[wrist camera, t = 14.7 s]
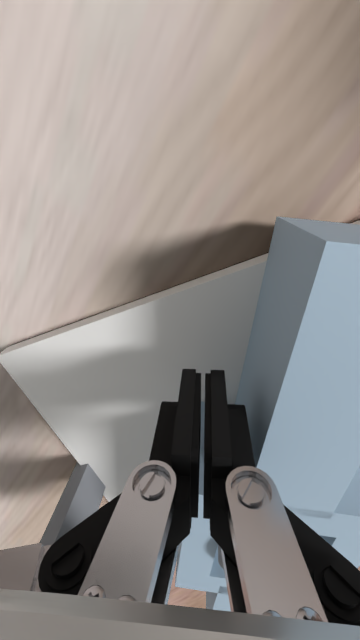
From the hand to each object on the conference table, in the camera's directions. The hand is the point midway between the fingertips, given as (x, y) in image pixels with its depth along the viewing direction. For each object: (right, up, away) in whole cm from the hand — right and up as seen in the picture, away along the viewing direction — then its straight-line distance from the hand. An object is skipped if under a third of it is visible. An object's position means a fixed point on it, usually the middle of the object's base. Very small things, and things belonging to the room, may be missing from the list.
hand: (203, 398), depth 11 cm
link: (+3, -3, +4) cm, 6 cm away
